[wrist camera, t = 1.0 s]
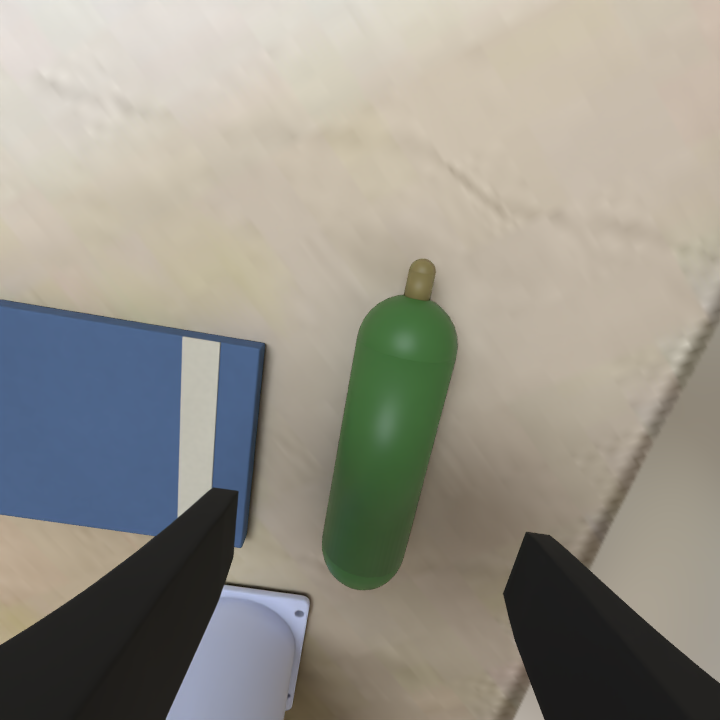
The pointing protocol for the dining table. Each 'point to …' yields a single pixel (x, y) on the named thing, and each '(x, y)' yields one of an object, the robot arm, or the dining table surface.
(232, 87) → the dining table surface
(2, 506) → the towel
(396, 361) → the courgette
